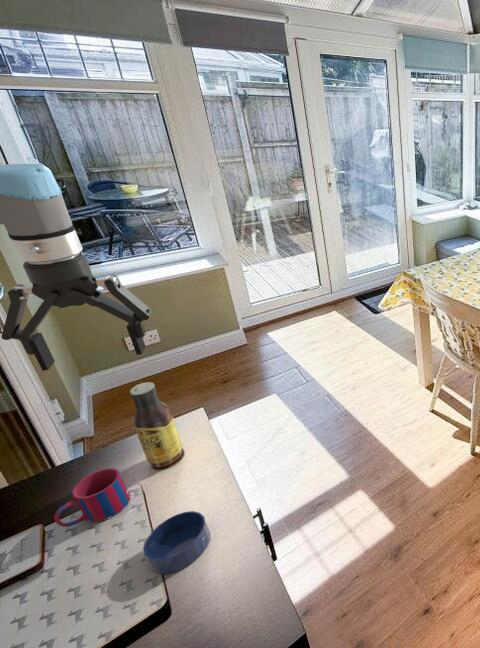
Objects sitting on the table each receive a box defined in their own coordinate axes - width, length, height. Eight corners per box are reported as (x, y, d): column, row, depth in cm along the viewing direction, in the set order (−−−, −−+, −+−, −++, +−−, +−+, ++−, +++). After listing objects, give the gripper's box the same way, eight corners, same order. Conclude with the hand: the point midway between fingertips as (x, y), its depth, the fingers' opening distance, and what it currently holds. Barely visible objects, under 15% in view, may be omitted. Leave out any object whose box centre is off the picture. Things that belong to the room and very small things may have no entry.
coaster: (147, 473, 89) (147, 472, 89) (155, 453, 94) (155, 452, 94) (181, 464, 91) (180, 463, 91) (187, 445, 96) (186, 444, 96)
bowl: (143, 583, 70) (136, 569, 68) (158, 536, 77) (151, 522, 76) (205, 561, 73) (199, 547, 72) (214, 518, 81) (208, 504, 79)
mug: (137, 501, 83) (125, 477, 81) (70, 544, 75) (55, 519, 73) (122, 486, 86) (110, 462, 84) (56, 526, 78) (41, 501, 75)
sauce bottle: (142, 467, 90) (110, 395, 82) (167, 444, 96) (140, 376, 88) (168, 471, 89) (138, 400, 81) (192, 449, 95) (167, 380, 87)
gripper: (-69, 275, 63) (-7, 386, 71) (138, 256, 73) (171, 355, 81) (-37, 257, 69) (17, 361, 77) (150, 242, 79) (180, 335, 88)
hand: (96, 358), depth 79 cm, fingers open, 13 cm apart
